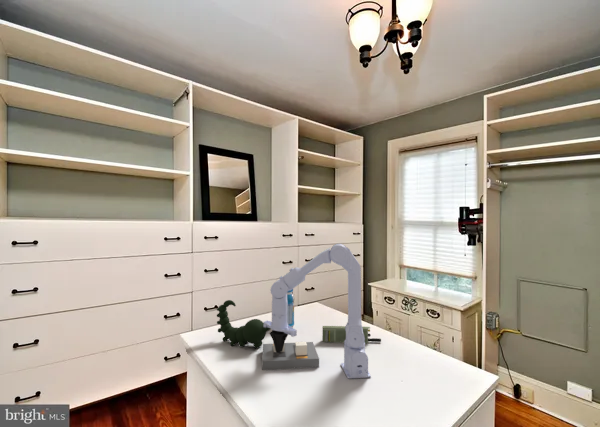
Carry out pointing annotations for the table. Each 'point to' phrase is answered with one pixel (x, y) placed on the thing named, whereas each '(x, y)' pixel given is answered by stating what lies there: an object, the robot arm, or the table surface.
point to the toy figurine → (241, 329)
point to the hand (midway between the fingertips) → (279, 351)
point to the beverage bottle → (290, 308)
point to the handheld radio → (343, 334)
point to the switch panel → (289, 357)
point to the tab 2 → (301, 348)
